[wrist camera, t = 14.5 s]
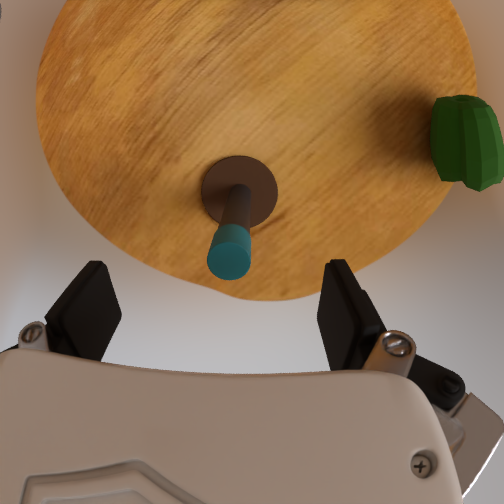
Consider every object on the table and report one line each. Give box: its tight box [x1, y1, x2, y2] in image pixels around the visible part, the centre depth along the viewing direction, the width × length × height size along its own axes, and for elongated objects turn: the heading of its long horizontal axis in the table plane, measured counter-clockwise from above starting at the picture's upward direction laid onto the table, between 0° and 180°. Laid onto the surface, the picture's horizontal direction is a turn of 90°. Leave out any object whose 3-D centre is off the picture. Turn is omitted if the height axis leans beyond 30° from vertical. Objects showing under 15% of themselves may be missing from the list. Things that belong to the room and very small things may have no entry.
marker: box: [207, 184, 251, 280], centre depth 19 cm, size 2×2×12 cm
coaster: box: [201, 156, 278, 228], centre depth 25 cm, size 7×7×1 cm
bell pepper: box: [430, 95, 504, 192], centre depth 18 cm, size 8×8×10 cm
